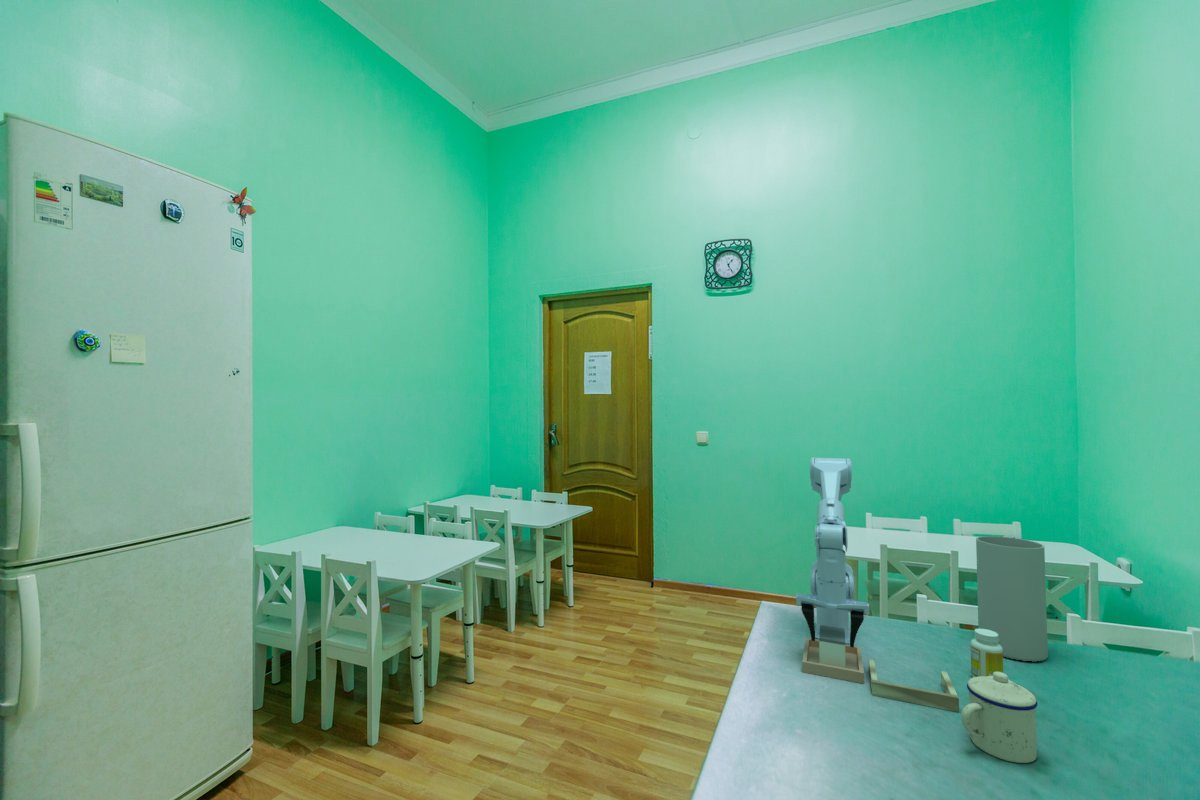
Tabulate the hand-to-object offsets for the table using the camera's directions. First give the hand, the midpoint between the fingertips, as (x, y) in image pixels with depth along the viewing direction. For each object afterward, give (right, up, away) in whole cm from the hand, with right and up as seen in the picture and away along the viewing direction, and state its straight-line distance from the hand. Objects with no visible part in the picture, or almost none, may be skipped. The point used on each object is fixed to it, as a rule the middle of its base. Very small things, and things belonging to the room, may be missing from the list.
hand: (832, 642), depth 113 cm
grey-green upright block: (0, -4, 0) cm, 4 cm away
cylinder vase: (+45, -6, +7) cm, 46 cm away
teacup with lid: (+13, -4, -29) cm, 32 cm away
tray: (0, -5, 0) cm, 5 cm away
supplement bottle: (+29, -5, -7) cm, 30 cm away
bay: (+11, -4, -11) cm, 16 cm away
